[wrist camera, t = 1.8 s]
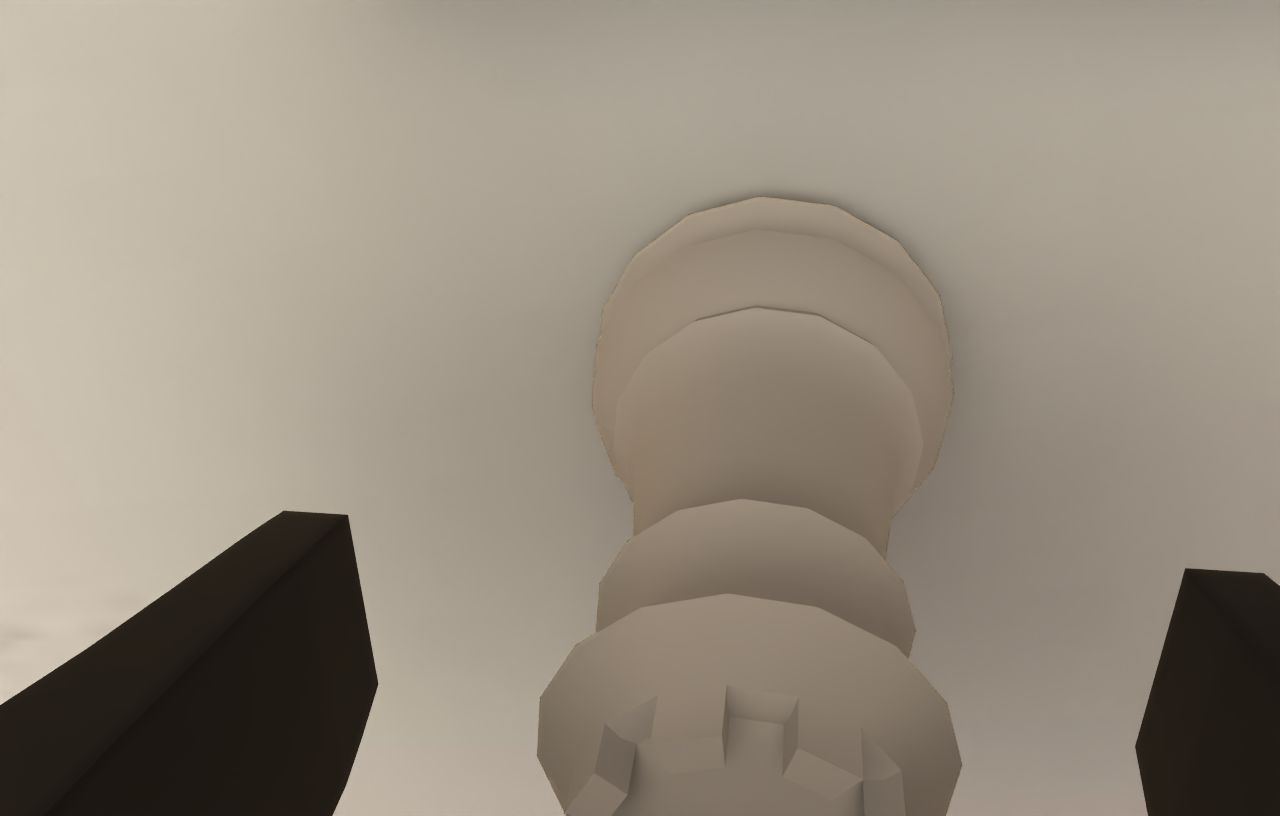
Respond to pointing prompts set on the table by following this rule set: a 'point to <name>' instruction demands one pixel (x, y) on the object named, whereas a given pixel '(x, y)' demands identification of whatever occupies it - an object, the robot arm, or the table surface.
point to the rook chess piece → (760, 529)
